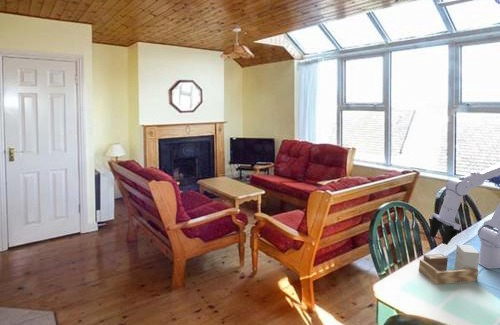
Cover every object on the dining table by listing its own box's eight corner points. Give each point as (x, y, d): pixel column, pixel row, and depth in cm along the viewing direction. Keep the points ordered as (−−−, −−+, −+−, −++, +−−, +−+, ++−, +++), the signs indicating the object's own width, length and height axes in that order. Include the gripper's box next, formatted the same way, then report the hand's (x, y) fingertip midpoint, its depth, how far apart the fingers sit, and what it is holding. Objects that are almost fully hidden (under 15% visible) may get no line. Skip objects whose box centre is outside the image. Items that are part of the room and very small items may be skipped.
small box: (476, 279, 142) (480, 253, 140) (460, 277, 143) (463, 251, 141) (468, 269, 150) (472, 245, 148) (453, 268, 151) (456, 243, 149)
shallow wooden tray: (456, 267, 151) (457, 257, 151) (476, 281, 140) (478, 270, 140) (418, 270, 148) (419, 259, 148) (436, 284, 138) (437, 272, 137)
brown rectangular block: (422, 267, 152) (423, 254, 151) (440, 265, 153) (441, 253, 152) (428, 271, 148) (429, 258, 147) (446, 270, 150) (447, 257, 149)
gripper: (429, 201, 153) (418, 231, 155) (454, 211, 139) (442, 245, 141) (443, 204, 155) (433, 235, 156) (469, 215, 141) (457, 248, 142)
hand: (438, 240), depth 149 cm, fingers open, 7 cm apart
